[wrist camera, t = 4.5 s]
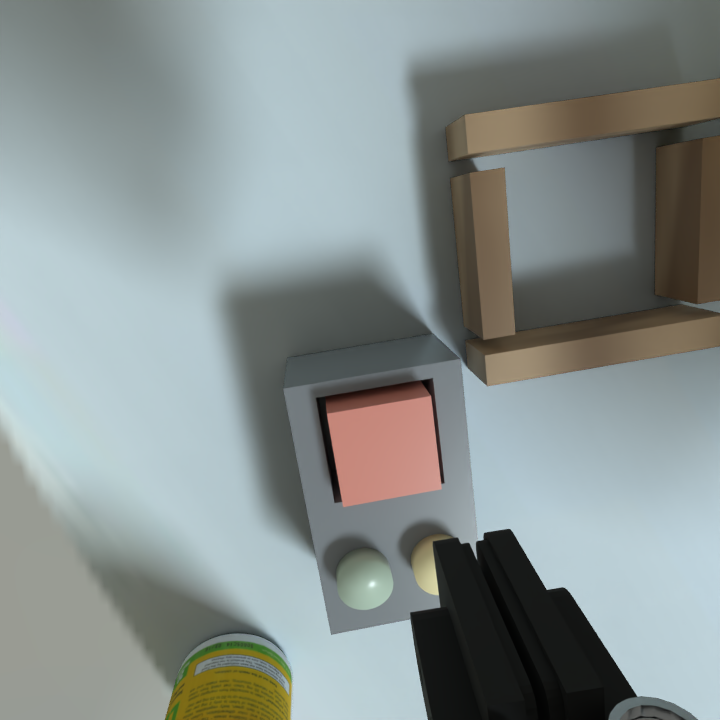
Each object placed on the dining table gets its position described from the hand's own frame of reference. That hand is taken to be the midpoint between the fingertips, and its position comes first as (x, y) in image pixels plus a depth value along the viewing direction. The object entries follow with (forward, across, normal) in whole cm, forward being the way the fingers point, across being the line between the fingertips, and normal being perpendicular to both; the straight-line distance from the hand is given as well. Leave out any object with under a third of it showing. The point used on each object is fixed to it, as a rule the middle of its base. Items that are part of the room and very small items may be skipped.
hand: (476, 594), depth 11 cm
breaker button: (+10, +1, -1) cm, 10 cm away
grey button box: (+11, +1, +2) cm, 12 cm away
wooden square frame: (+12, -8, -6) cm, 15 cm away
